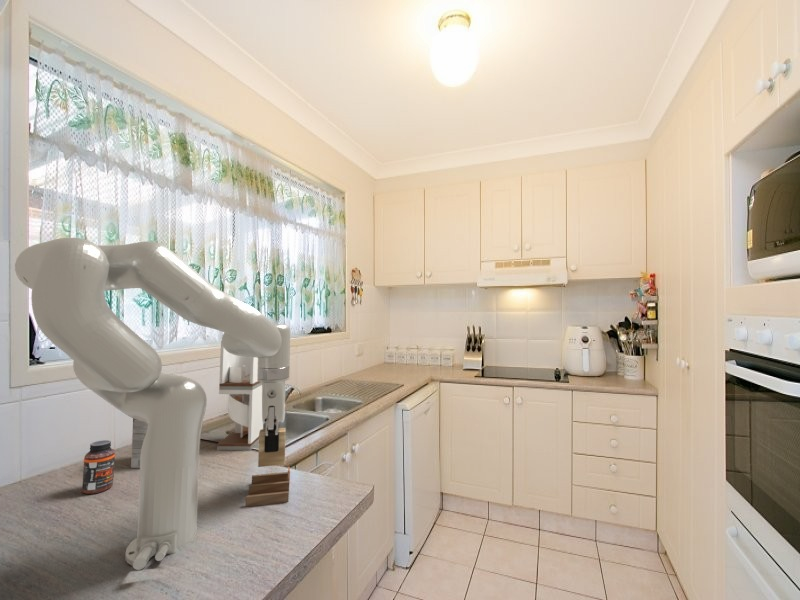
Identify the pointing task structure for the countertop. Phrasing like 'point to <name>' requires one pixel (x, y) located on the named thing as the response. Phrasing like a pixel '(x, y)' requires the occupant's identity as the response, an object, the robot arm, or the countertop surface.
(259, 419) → the display case
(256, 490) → the rack
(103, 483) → the supplement bottle
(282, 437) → the block
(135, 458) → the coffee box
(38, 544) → the countertop surface
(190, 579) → the countertop surface
